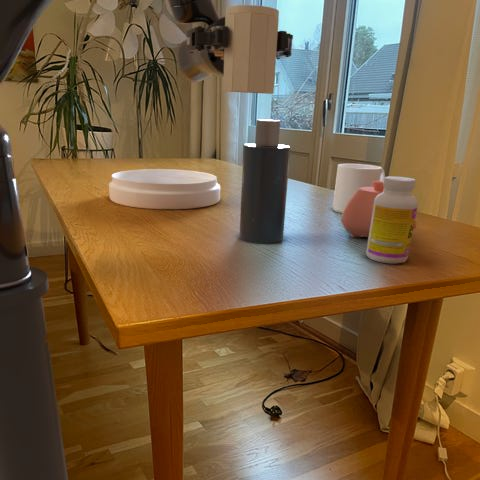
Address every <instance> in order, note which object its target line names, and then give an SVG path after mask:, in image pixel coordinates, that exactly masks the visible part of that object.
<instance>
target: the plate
mask: <svg viewBox="0 0 480 480" xmlns="http://www.w3.org/2000/svg"><path fill="white" fill-rule="evenodd" d="M108 191H109V193H108V195H109V199H110V201H111V202H113V203H115V204H118V205H121V206H125V207H131V208H138V209H148V210H191V209H200V208H205V207H211V206H213V205H216V204H218V203H219V202H220V201H221V185H220V184H219V183H218V177H217V175H214V174H212V173H208V172H205V171H204V172H203V171H198V170H197V171H196V170H190V169H189V170H187V169H173V168H142V169H141V168H140V169H139V168H138V169H129V170H128V169H127V170H122V171H117V172H114V173H112V174H111V180H110V182H109V183H108Z"/></svg>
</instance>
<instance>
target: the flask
mask: <svg viewBox="0 0 480 480" xmlns="http://www.w3.org/2000/svg"><path fill="white" fill-rule="evenodd" d="M280 129H281V120H279V119H256V120H255V139H254V140H255V141H254V143H244V144H243V145H242V167H241V193H240V214H239V239H240V240H242V241H244V242H248V243H253V244H261V245H264V244H266V245H267V244H270V245H271V244H276V243H281V242H282V241H283V240H284V230H285V219H286V218H285V217H286V206H287V194H288V193H287V192H288V183H289V170H290V168H289V167H290V156H291V146H290V145H285V144H280V132H281V131H280Z"/></svg>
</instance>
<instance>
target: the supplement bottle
mask: <svg viewBox="0 0 480 480" xmlns="http://www.w3.org/2000/svg"><path fill="white" fill-rule="evenodd" d="M416 182H417V180H416V179H415V178H412V177H406V176H395V175H390V176H385V178H384V183H383V185H384V191H383V193H380V194H378V195H377V196H376V198H375V200H374V206H373V213H372V219H371V225H370V232H369V237H367V245H366V251H365V255H366V256H367V258H368V259H369V260H372V261H374V262H378V263H381V264H382V263H383V264H391V265H392V264H393V265H394V264H402V263H405V262H406V261H407V260H408V258H409V253H410V249H411V243H412V238H413V233H414V230H413V228H414V222H415V221H416V216H417V211H418V208H419V207H418V206H419V201H418V199H417V197H416V196H414V195H413V190H415V188H416Z"/></svg>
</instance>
